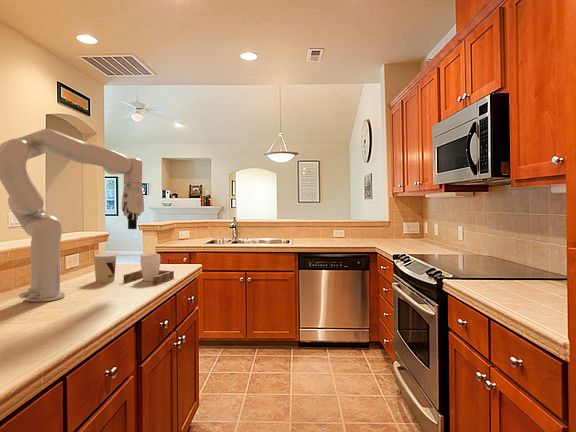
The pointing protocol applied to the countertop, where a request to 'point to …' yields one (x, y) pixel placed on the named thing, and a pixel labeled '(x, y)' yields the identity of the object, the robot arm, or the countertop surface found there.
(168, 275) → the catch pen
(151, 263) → the cup
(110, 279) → the coffee cup
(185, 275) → the countertop surface
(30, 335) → the countertop surface
